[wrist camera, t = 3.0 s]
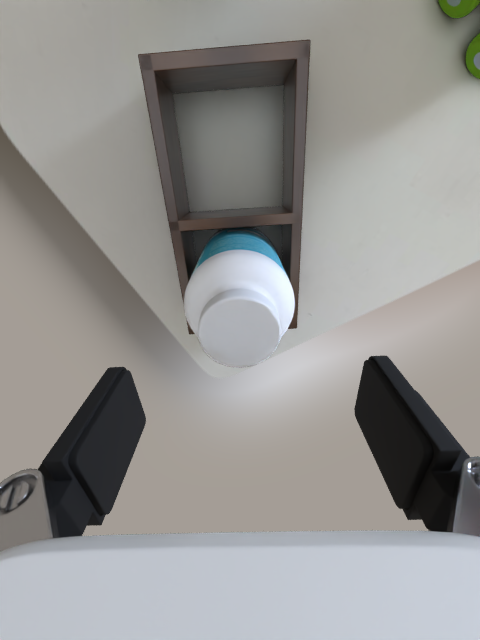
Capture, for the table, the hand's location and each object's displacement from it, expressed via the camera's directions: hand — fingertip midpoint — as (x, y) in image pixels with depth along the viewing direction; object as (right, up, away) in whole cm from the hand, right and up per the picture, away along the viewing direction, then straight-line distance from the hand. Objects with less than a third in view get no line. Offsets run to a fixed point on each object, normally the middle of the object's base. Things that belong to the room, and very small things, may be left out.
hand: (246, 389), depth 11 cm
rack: (-1, +13, +13) cm, 18 cm away
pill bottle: (0, +9, +16) cm, 18 cm away
